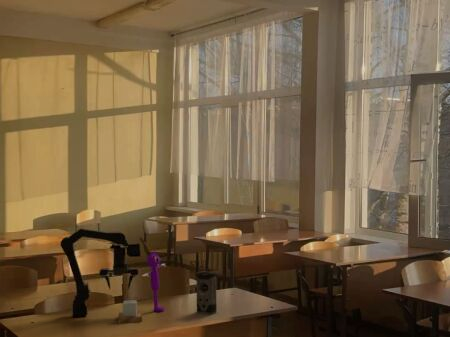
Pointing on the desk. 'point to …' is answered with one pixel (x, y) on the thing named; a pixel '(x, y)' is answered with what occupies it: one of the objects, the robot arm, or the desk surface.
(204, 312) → the electronic device
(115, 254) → the robot arm
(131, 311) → the cube
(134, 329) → the desk surface
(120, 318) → the walnut block
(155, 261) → the toy
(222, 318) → the desk surface
